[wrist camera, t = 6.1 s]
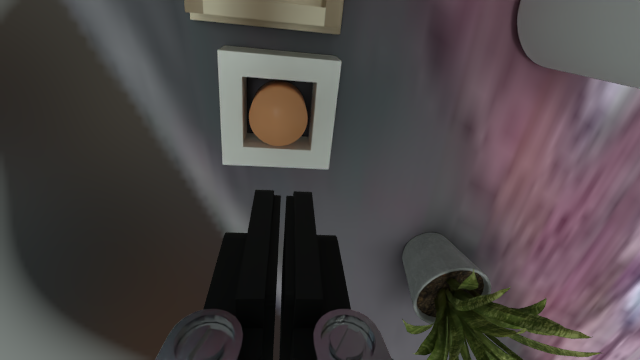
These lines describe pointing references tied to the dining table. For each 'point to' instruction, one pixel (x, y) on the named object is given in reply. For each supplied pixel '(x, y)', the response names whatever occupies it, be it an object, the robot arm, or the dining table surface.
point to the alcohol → (583, 37)
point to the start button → (278, 113)
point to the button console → (281, 66)
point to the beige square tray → (271, 13)
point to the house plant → (468, 307)
